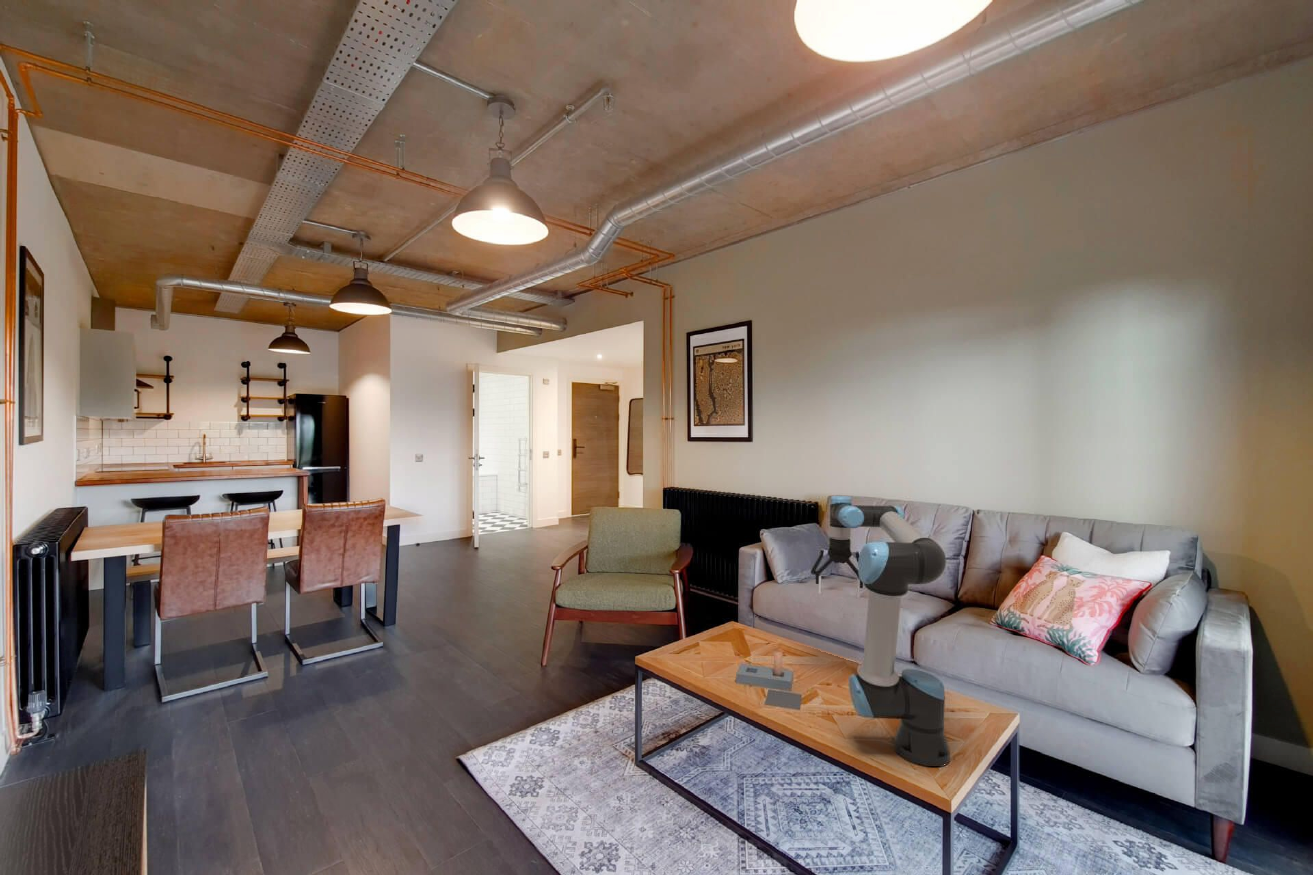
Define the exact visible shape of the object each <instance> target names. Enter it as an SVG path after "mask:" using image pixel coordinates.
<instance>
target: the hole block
mask: <svg viewBox="0 0 1313 875" xmlns="http://www.w3.org/2000/svg"><path fill="white" fill-rule="evenodd" d="M735 678H736V681H735V682H736V684H739V685H745V686H751V687H759V688H763V689H770V690H776V691H783V692H789V693H792V688H793V684H794V683H793V682H794V670H792V669H783V668H782V677H779V676H774V667H770V666H764V665H757V664H756V665H755V664H749V663H742V662H741V663H740V665H739V667H738V670H737V672H736V677H735Z"/></svg>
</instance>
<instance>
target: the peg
mask: <svg viewBox="0 0 1313 875" xmlns="http://www.w3.org/2000/svg"><path fill="white" fill-rule="evenodd" d="M773 654H774V655H773V668H774V676H779V677H782V669H783V652H782V651H779V650H778V651H777V650H776V651H774V652H773Z"/></svg>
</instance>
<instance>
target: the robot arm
mask: <svg viewBox="0 0 1313 875" xmlns="http://www.w3.org/2000/svg"><path fill="white" fill-rule="evenodd" d="M905 517H906V516H905V512H904V509H903V508H902V507H900V506H898V505H897V506H895V505H866V504H865V505H862V504H861V505H860V504H857V505H856V504H852V497H850V496H846V495H832V496H831V497H830V499H829V532H828V534H829V538H828V539H829V540H828V541H829V544H828V549H827V550H826V549H824V548H821V549H820V550H819V551H820V552H819V555H818V557H817V559H816V560H815V562H814V564H813V566H812V568H811V570H810V573H811V574H812V575H815V584H816V585H818V594H820V595H821V593H822V572H824V571H825V570H826V569H827V568H828V567H829V566H830V565H831V564H832V563H835V564H839V563H840V564H843V565H844V564H845V563H846V564H847V565H848V566H849V567H850V568H851V570H852V571H853V572H854V574H855V575H857V579H856V580H857V582H856V584H857V585H856V596H857V597H856V598H859V599H860V596H861V595H860V594H861V593H860V590H861V589H863V588H865V589H866V590H867V591H868V599H867V600H868V601H867V602H868V603H867V612H866V614H867V615H866V622H865V624H866V625H865V635H864V636H865V638H864V648H863V661H862V663H860V664H859V665H858V666H857V670H856V674H854V673H853V674H851V675H849V677H848V687H849V688H848V689H849V694H850V699H851V701H852V706H853V708H854V710H855V712H856V714H857V715H858V716H859V717H861V718H867V719H872V720H874V719H891V720H892V719H893V720H896V719H897V720H900V723H899V726H898V728H897V731H896V733H895V736H894V737H893V738H894V739H893V740H894V741H893V748H894V750H895V752H896V753H897V754H898V755H899V756H900V757H901V758H903V759H905V760H906V761H908V762H910V763H912V762H913V763H912V764H915V763H916V764H915V765H918V764H921V765H920V766H922V765H924V766H923V767H927V766H941V767H943V766H942V765H944V764H947V763H948V762H949V763H950V761H951V749H950V746H949V744H948V741H947V737H946V734H945V704H946V703H945V700H946V695H945V694H946V693H945V685H944V683H943V682H942V680H940V679H939V678H938V677H936V676H935V675H933V674H931V673H929V672H926V671H922V670H919V669H913V668H905V669H903V670H902V671H901V674H900V675H901V676H900V675H899V674H898V673H897V671H896V670H895V664H896V656H897V655H896V654H897V643H898V635H899V634H898V632H899V623H900V622H899V621H900V612H901V600H902V598H903V597H904V596H906V595H907V594H908V590H909V585H926V584H930V583H932V582H934V581H936V580H938V579H939V578H940V577H941V575H942V574H943V573H944V571H945V568H946V564H947V558H946V554H945V551H944V550H943V548H942V547H941V546H940V545H939V543H937V542H936V541H935V540H934V539H932V538H931V537H925V536H924V535H923V534H922V533H921V532H919V531H918V530H917V529H916V528H915V527H914V526H913V525H912V524H910V522H908V521H907V520H906V518H905ZM860 527H861V528H880V529H882V531H884V532H885V533H886V534H887V536H888V537H889V538H891V539H892V541H893V542H892V541H882V540H881V541H873V542H872V541H871V542H867V543H865V544H864V545H863V547H862V548H861V550H860V552H859V551H855V552H854V551H852V550H851V539H850V538H851V536H852V532H851V530H852V529H858V528H860ZM826 555H828V557H829V558H828V559H827V560H826V561H825V562H824V563H823V564H822V565H821V566H820V567H819V565H820V564H821V561H822V559H823V558H824V557H825V556H826ZM852 556H853V558H854V559H855V560H856V561H857V567H856V566H855V565H854V563H853V562H852V561H851V559H850V558H851V557H852ZM818 567H819V569H818ZM857 568H858V569H857ZM949 760H950V761H949ZM949 763H948V764H949ZM948 764H947V765H948Z"/></svg>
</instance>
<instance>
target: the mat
mask: <svg viewBox="0 0 1313 875" xmlns="http://www.w3.org/2000/svg"><path fill="white" fill-rule="evenodd" d="M802 700H803V694H802V693H794V692H790V691H783V690H777V689H770V688H767V693H766V697H765V701H764V705H766V706H770V707H771V706H772V707H777V708H784V709H789V710H797V711H801V706H802Z"/></svg>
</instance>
